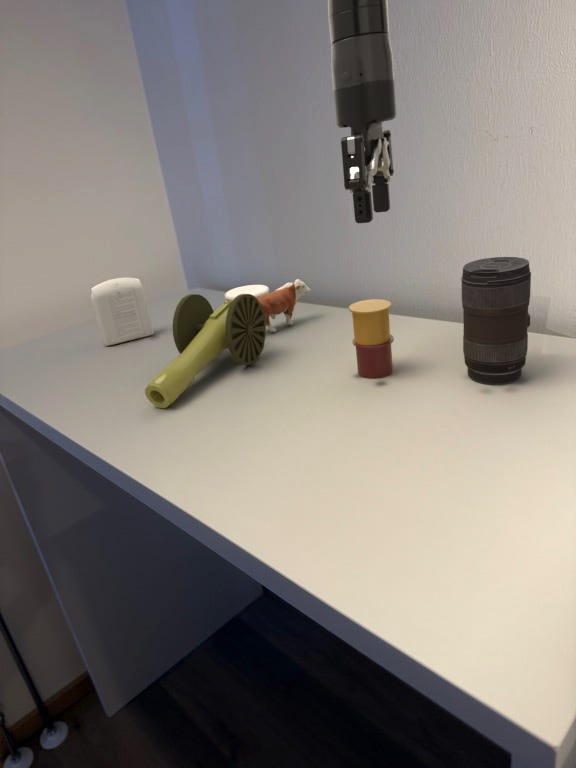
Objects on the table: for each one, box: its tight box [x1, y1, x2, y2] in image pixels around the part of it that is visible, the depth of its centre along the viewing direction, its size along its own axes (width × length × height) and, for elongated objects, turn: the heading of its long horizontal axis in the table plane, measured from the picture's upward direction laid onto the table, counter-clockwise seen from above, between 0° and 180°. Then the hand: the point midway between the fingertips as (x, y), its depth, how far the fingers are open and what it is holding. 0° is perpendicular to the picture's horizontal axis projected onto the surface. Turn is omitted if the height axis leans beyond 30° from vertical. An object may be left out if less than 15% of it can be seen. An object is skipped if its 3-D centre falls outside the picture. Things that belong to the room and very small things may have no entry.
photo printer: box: [90, 277, 155, 347], centre depth 107 cm, size 10×4×12 cm, turn 116°
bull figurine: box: [256, 278, 311, 333], centre depth 102 cm, size 4×13×8 cm, turn 124°
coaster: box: [224, 284, 270, 301], centre depth 121 cm, size 10×10×4 cm
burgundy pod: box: [351, 333, 395, 379], centre depth 78 cm, size 6×6×5 cm
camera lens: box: [460, 256, 532, 385], centre depth 69 cm, size 8×8×15 cm
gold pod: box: [348, 298, 392, 346], centre depth 76 cm, size 6×6×5 cm
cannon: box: [144, 293, 267, 409], centre depth 84 cm, size 25×12×11 cm, turn 154°
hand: (373, 216), depth 73 cm, fingers open, 8 cm apart
